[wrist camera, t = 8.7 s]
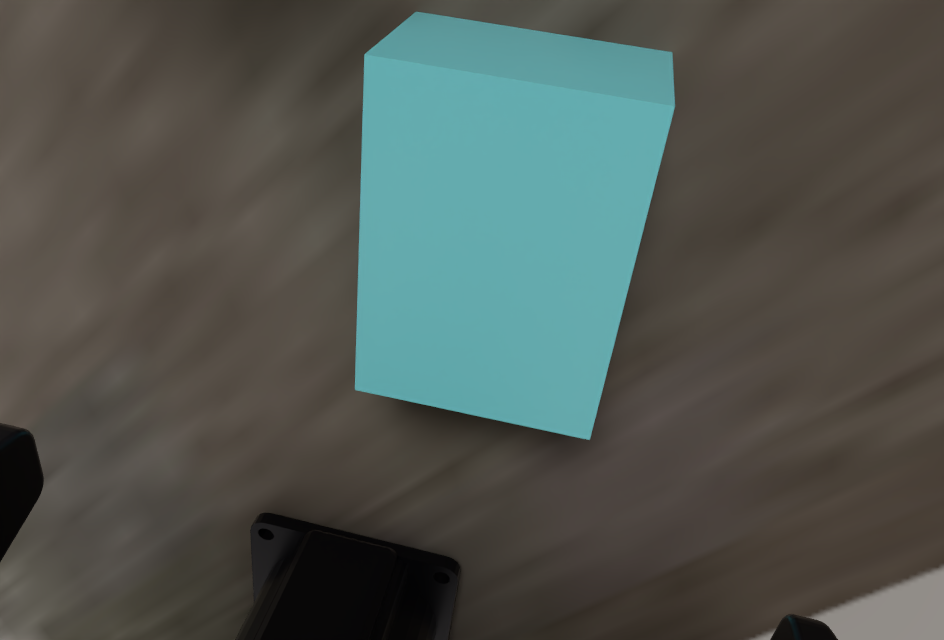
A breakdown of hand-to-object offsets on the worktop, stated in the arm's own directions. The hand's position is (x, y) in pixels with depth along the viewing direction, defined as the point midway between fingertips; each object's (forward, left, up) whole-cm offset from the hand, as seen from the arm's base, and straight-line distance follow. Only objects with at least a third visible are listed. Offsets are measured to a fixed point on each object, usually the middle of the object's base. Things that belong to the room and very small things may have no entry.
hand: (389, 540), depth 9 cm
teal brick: (0, 0, -10) cm, 10 cm away
